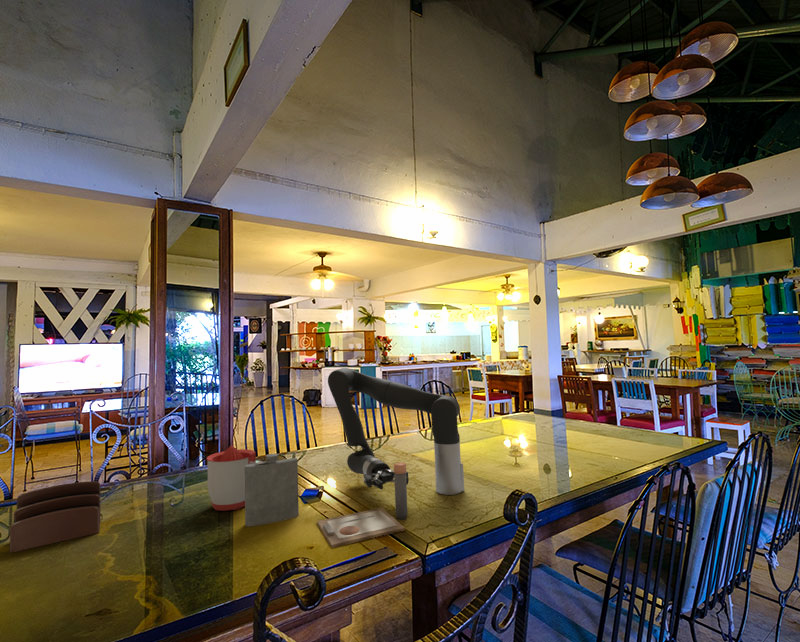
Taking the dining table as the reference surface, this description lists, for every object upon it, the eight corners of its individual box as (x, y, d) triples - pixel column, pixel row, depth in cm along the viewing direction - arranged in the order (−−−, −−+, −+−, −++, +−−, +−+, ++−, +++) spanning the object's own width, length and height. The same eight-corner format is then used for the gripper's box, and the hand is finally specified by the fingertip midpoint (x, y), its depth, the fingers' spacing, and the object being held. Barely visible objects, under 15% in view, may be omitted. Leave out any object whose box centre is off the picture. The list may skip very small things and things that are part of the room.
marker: (404, 514, 129) (402, 461, 130) (410, 518, 126) (408, 464, 127) (393, 516, 128) (391, 463, 129) (398, 521, 124) (396, 466, 125)
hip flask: (297, 512, 134) (296, 449, 135) (300, 517, 130) (298, 452, 131) (244, 523, 127) (243, 456, 128) (246, 528, 123) (245, 459, 125)
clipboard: (382, 510, 133) (382, 505, 134) (404, 530, 118) (404, 524, 118) (317, 523, 125) (316, 518, 125) (332, 547, 109) (331, 541, 109)
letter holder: (16, 541, 121) (17, 491, 122) (100, 522, 132) (100, 477, 133) (8, 554, 113) (10, 501, 114) (99, 533, 124) (99, 485, 125)
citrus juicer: (251, 513, 135) (250, 450, 136) (197, 515, 135) (197, 452, 136) (267, 496, 150) (266, 439, 152) (219, 497, 151) (219, 441, 152)
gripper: (356, 462, 144) (373, 475, 129) (394, 457, 149) (414, 468, 135) (357, 485, 143) (373, 500, 128) (395, 478, 149) (415, 492, 134)
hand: (394, 483), depth 132 cm, fingers open, 8 cm apart
